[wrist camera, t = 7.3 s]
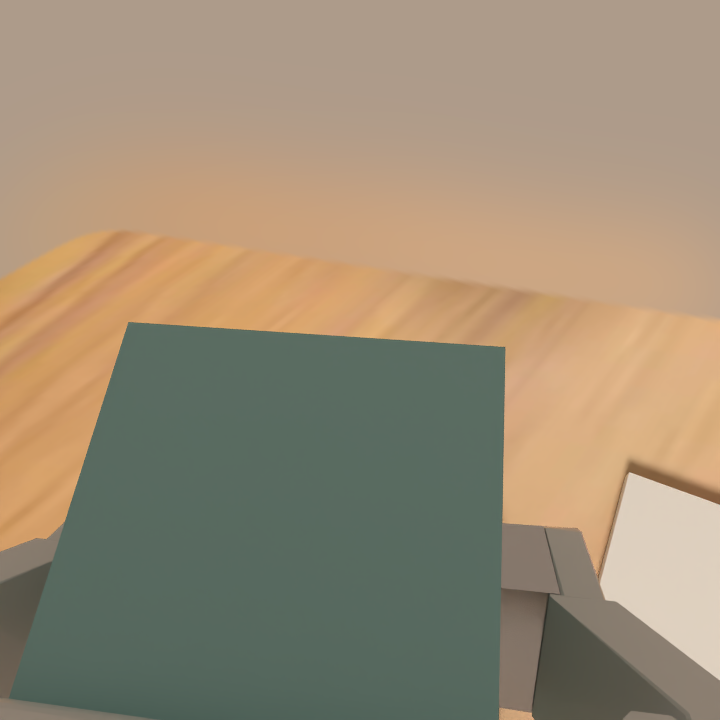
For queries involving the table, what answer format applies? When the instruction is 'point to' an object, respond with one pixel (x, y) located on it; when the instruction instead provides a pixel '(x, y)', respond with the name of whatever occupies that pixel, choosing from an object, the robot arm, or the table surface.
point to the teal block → (281, 533)
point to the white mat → (667, 566)
